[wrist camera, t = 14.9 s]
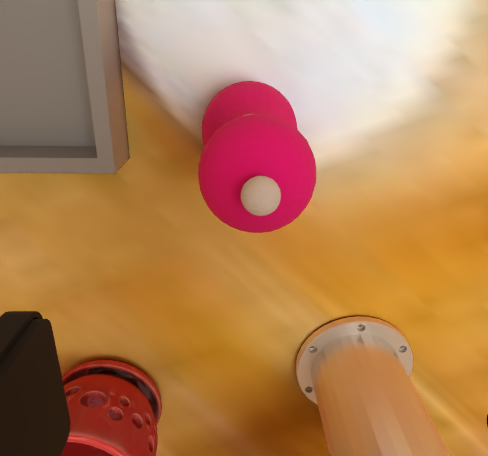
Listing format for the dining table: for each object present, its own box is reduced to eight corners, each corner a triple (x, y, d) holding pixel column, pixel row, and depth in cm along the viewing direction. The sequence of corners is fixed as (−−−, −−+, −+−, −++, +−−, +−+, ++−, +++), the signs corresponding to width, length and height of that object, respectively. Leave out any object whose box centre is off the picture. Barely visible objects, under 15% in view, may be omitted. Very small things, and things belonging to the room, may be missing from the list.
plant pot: (188, 373, 47) (174, 473, 36) (138, 447, 52) (112, 556, 41) (76, 325, 44) (24, 418, 33) (33, 407, 49) (-25, 514, 38)
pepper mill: (199, 81, 35) (161, 125, 17) (287, 72, 35) (347, 105, 16) (211, 167, 38) (190, 284, 19) (292, 158, 38) (347, 268, 19)
